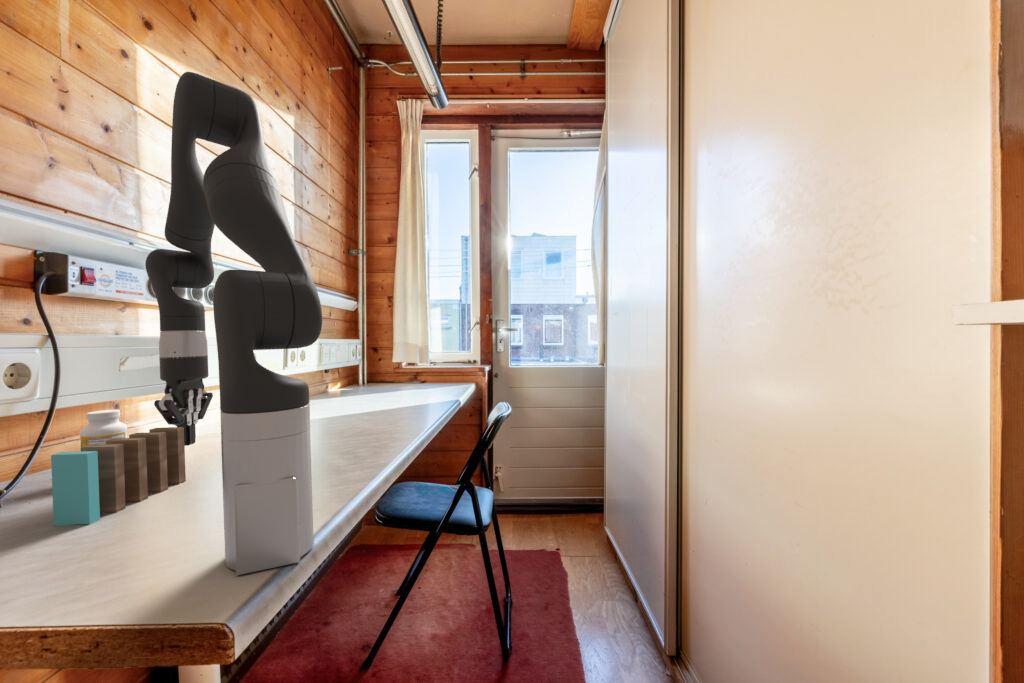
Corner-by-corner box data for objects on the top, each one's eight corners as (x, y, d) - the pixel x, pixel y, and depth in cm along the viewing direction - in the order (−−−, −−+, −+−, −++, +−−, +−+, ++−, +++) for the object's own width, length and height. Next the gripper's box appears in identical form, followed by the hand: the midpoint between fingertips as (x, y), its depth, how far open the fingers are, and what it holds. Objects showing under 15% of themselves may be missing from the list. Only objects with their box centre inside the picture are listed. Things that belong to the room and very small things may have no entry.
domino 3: (140, 501, 72) (137, 439, 72) (108, 502, 72) (106, 440, 72) (147, 498, 73) (145, 437, 73) (117, 499, 73) (114, 438, 73)
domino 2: (116, 512, 67) (114, 446, 67) (82, 513, 67) (80, 447, 67) (125, 508, 69) (123, 443, 69) (92, 509, 69) (90, 444, 69)
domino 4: (160, 492, 76) (158, 433, 76) (131, 493, 76) (129, 434, 76) (167, 489, 78) (165, 431, 78) (138, 490, 78) (136, 432, 78)
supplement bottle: (91, 476, 87) (88, 410, 87) (134, 471, 90) (131, 407, 90) (75, 486, 81) (72, 415, 81) (121, 480, 84) (119, 412, 84)
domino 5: (179, 484, 81) (177, 428, 80) (151, 485, 80) (149, 429, 80) (185, 481, 82) (183, 426, 82) (158, 482, 82) (156, 427, 82)
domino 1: (89, 524, 63) (87, 453, 63) (53, 525, 63) (51, 455, 63) (100, 519, 65) (97, 450, 65) (64, 521, 65) (62, 452, 64)
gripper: (178, 355, 79) (182, 452, 79) (225, 353, 93) (228, 436, 93) (135, 356, 79) (139, 454, 79) (188, 354, 92) (191, 437, 93)
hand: (187, 444), depth 86 cm, fingers closed
